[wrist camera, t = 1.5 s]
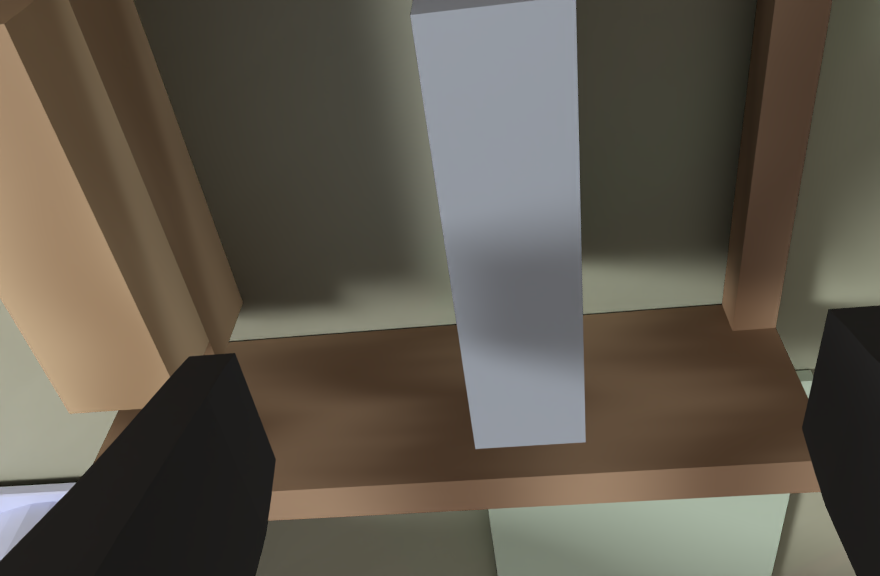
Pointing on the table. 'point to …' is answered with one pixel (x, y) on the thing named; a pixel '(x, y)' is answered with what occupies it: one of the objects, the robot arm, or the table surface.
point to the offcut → (102, 208)
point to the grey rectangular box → (509, 207)
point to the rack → (605, 367)
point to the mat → (643, 536)
